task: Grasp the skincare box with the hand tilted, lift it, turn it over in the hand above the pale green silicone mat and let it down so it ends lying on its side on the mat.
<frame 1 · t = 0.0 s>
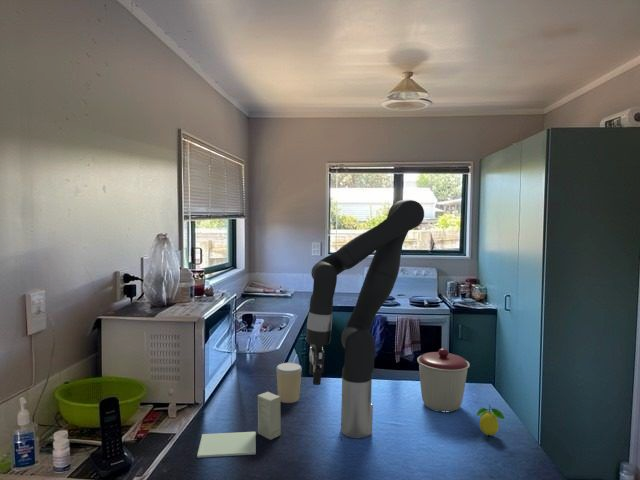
hand: (314, 379, 136), 17 cm above the countertop, tool pointing down, fingers open, 8 cm apart
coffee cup: (288, 399, 162), on the countertop
mat: (228, 444, 129), on the countertop
lemon: (489, 436, 138), on the countertop
skincare box: (268, 435, 136), on the countertop
canister: (441, 407, 158), on the countertop
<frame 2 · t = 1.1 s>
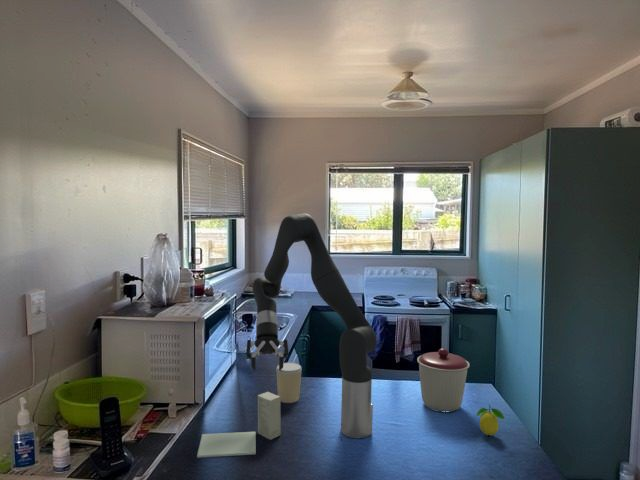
hand: (267, 369, 146), 16 cm above the countertop, tool tilted 45°, fingers open, 8 cm apart
nothing on the countertop moved.
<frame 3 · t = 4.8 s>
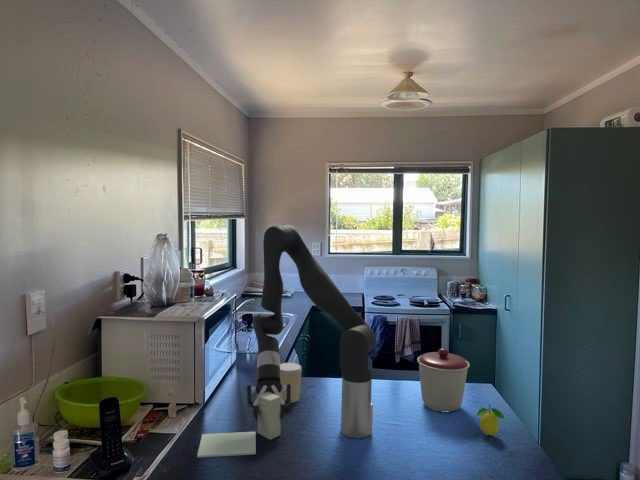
hand: (269, 419, 134), 5 cm above the countertop, tool tilted 45°, fingers closed on skincare box, 7 cm apart
skincare box: (268, 435, 136), on the countertop, touching gripper
everything else where it was.
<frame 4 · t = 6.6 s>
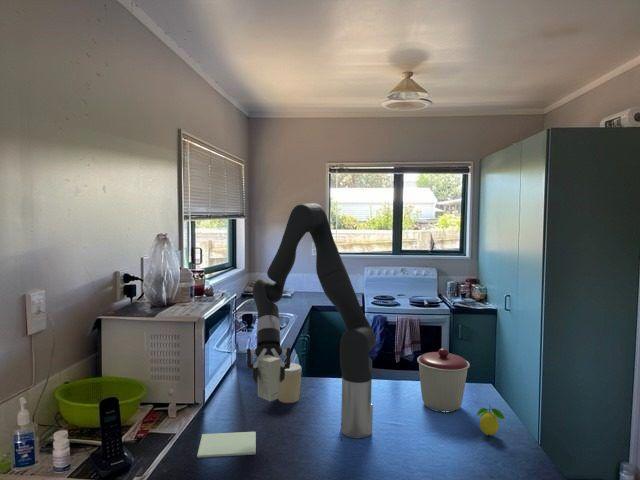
hand: (269, 381, 133), 17 cm above the countertop, tool tilted 45°, fingers closed on skincare box, 7 cm apart
skincare box: (268, 397, 135), point 12 cm above the countertop, touching gripper
everything else where it was.
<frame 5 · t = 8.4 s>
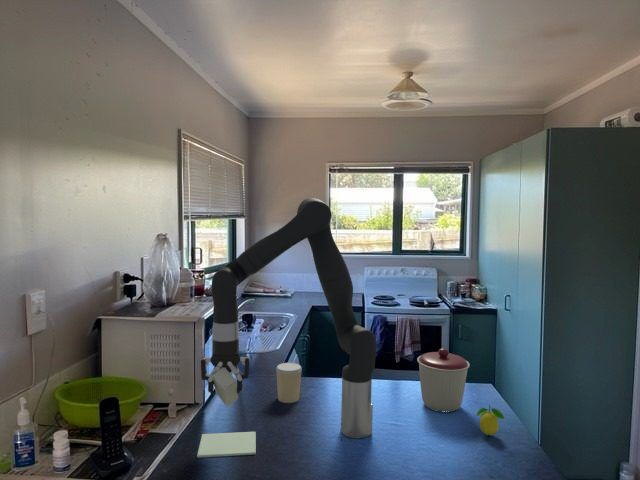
hand: (225, 392, 128), 15 cm above the countertop, tool pointing down, fingers closed on skincare box, 7 cm apart
skincare box: (226, 395, 134), point 12 cm above the countertop, touching gripper
everything else where it was.
when the fingers open (7 cm above the countertop, at t = 10.6 s): skincare box moves 4 cm, resting on mat.
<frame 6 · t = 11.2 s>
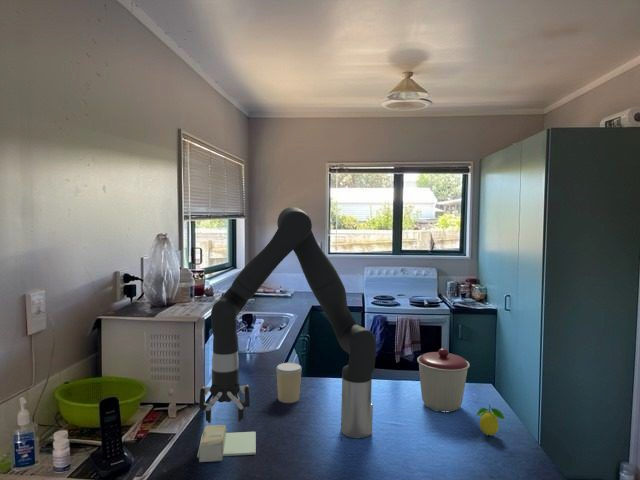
hand: (224, 421, 128), 7 cm above the countertop, tool pointing down, fingers open, 8 cm apart
skincare box: (215, 432, 131), point 3 cm above the countertop, touching mat
everything else where it was.
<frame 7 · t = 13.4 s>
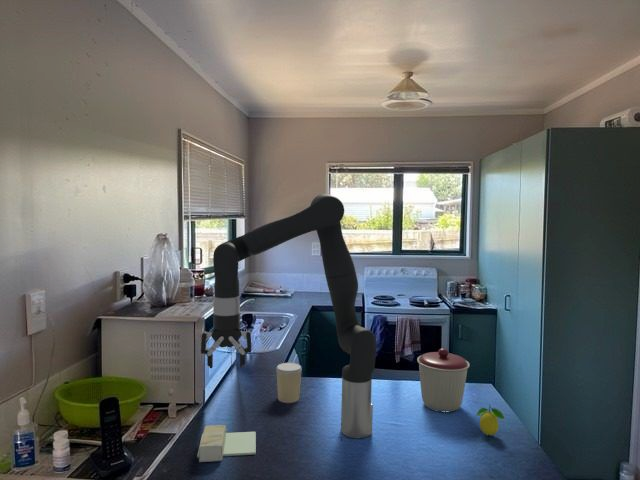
hand: (226, 367, 128), 23 cm above the countertop, tool pointing down, fingers open, 8 cm apart
nothing on the countertop moved.
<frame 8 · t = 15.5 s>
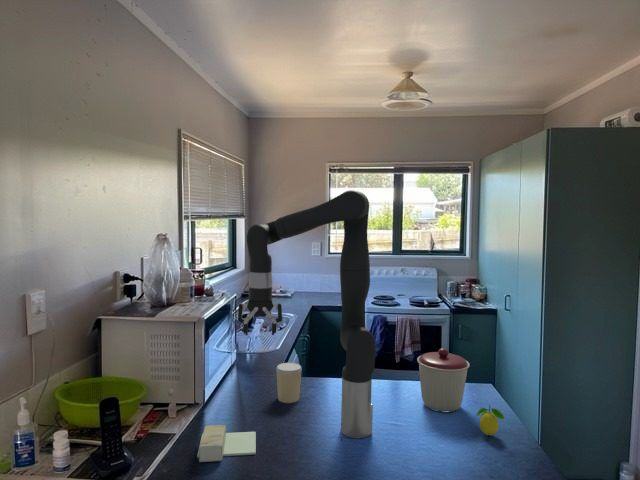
hand: (259, 334, 145), 28 cm above the countertop, tool pointing down, fingers open, 8 cm apart
nothing on the countertop moved.
at the end: skincare box tilted 89°; skincare box inside the target area on the mat (5.1 cm from its centre), point 2.6 cm above the mat's base; the gripper is holding nothing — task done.
